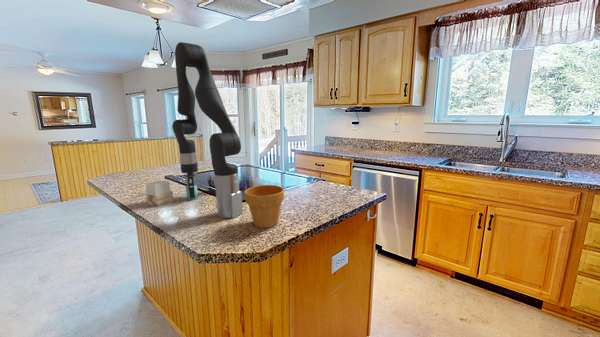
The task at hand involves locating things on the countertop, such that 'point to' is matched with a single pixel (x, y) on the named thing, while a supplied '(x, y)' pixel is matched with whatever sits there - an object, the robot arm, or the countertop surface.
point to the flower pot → (265, 204)
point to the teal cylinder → (194, 192)
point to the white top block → (158, 187)
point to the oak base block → (160, 199)
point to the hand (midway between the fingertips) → (192, 196)
